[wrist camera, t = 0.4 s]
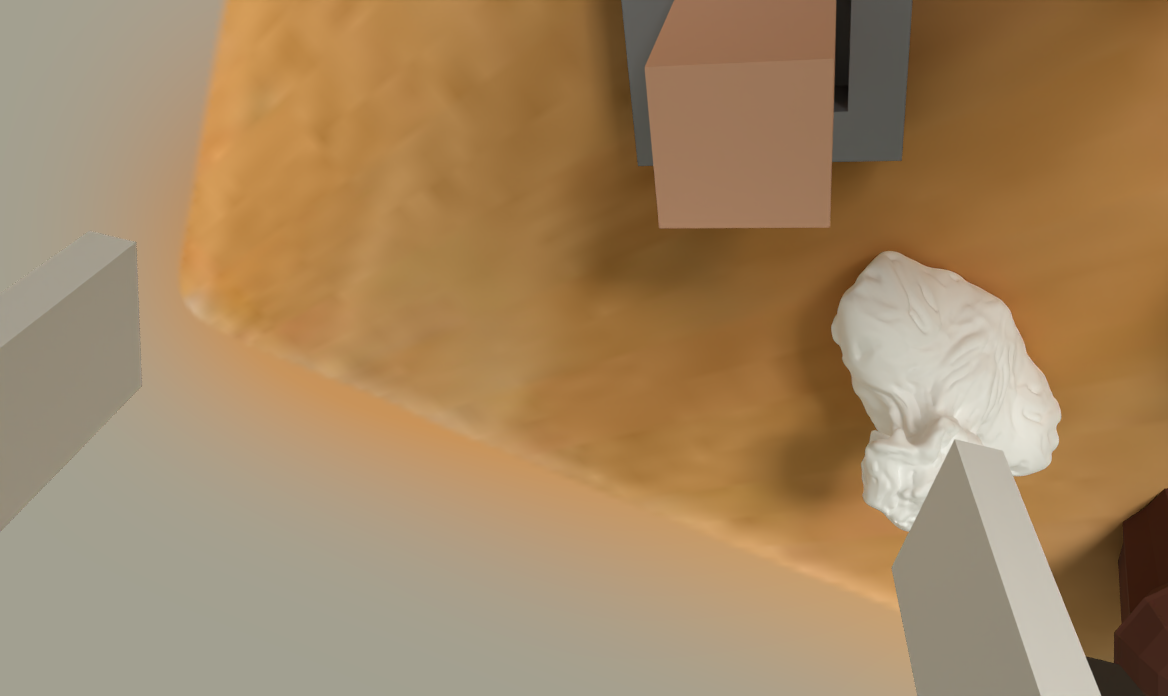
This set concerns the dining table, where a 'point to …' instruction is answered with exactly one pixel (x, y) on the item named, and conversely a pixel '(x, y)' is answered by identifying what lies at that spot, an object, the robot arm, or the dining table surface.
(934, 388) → the bust
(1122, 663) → the muffin
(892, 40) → the holder
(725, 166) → the block
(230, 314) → the dining table surface
